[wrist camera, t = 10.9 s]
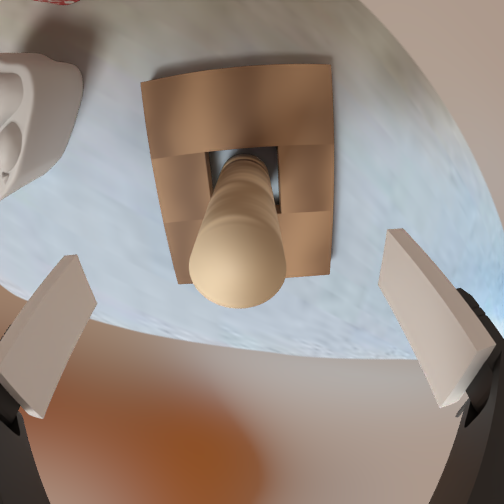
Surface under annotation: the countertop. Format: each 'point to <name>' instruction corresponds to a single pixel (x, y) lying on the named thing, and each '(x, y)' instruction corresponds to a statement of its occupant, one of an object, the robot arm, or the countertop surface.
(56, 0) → the mug
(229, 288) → the leg
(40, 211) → the countertop surface
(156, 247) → the countertop surface
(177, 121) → the seat board
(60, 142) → the lumpy-topped squat cylinder
